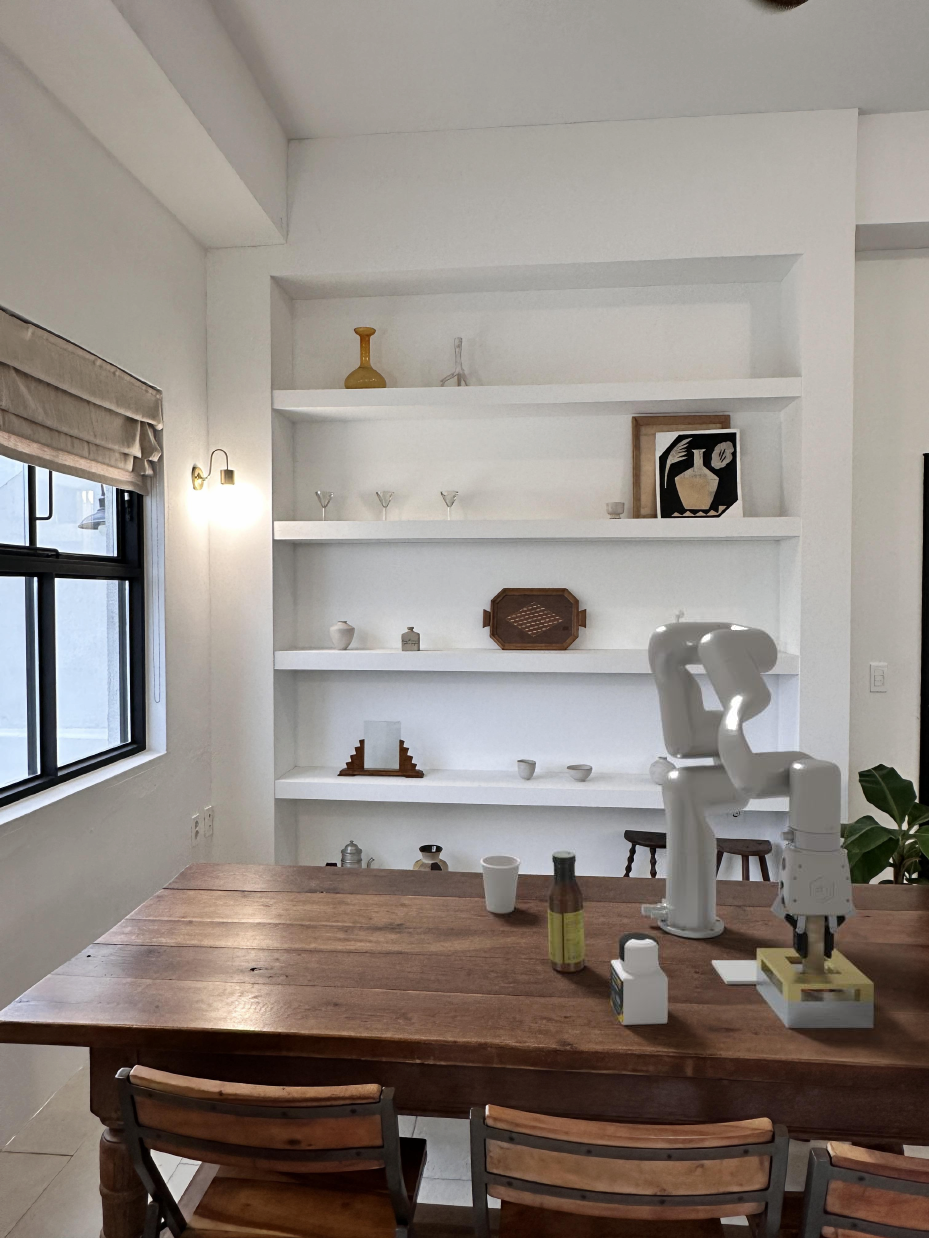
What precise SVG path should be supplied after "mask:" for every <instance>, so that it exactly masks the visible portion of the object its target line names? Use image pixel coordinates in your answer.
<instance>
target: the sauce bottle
mask: <svg viewBox="0 0 929 1238" xmlns="http://www.w3.org/2000/svg"><path fill="white" fill-rule="evenodd" d="M576 858H577V857H576V853H574V852H572V851H569V850H559V851H558V850H557V851H555V852H553V853H552V856H551V860H552V863H553V876H552V877H553V880H552V881H551V883H550V884H549V887H548V889H547V902H548V903H547V919H548V920H547V921H548V922H547V924H548V925H547V926H548V955H549V961H550V965H551V967H552V969H554V970H557V971H559V972H563V973H575V972H578V971H581V970H582V969H584V966H585V964H586V963H585V960H586V959H585V958H586V953H585V951H586V948H585V947H586V945H585V942H586V941H585V920H584V919H585V918H584V903H583V893H582V891H581V888H580V886H579V885H578V882H577V879H576V878H577V877H576V870H575V869H576V861H577V859H576Z"/></svg>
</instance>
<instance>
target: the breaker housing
mask: <svg viewBox="0 0 929 1238" xmlns="http://www.w3.org/2000/svg"><path fill="white" fill-rule="evenodd" d="M756 960H757V977H756V984H755V985H756V987H755V988H756V991H758V992H759V994H760V995H761V996H762V997H763V999H764V1000H765V1001H766V1002H767V1004H768V1005H769V1007H770V1008H771V1009H772V1010H773V1011H774V1013H775V1014H776V1015H777V1017H778V1018H779V1020H781V1022H782V1023H783V1025H784V1026H785V1027H786V1028H787V1029H793V1028H794V1029H829V1028H830V1029H838V1028H839V1029H852V1028H853V1029H857V1028H858V1029H863V1028H864V1029H871V1028H872V1029H873V1028H874V1012H875V1011H874V1010H875V1009H874V1005H875V1004H874V1001H875V1000H874V999H875V998H874V996H875V994H874V993H875V984H874V982H872V980H871V979H870V978H868V977H867V976H866V975H865V974H864V973H863V972H862V971H860V970H859V969H858V968H857V967H856V966H855V965H854V963H852V962H851V961H850V960H848V959H847V958H846V956H844V955H843V954H842V953H841V952H840V951H839V950H837V949H836V948H835V947H834V950H833V951H832V958H831V959H827V958H826V957H825V956H824V974H802V963H801V964H799V963H798V964H797V963H796V964H795V963H793V964H792V963H791V962H802V958H801V957H800V956H799V955H798V954H797V953H796V951H795V950H794V948H793V947H792V948H791V947H789V948H788V947H786V948H785V947H770V948H769V947H767V948H766V947H761V948H760V947H758V948H756ZM801 989H829V992H801Z"/></svg>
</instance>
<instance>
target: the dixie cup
mask: <svg viewBox="0 0 929 1238" xmlns="http://www.w3.org/2000/svg"><path fill="white" fill-rule="evenodd" d="M480 864H481V867H482V868H481V869H482V876H483V877H482V878H483V887H484V895H485V904H486V910H487V911H488V912H491V913H494V914H508V913H511V912H512V911H514V910H515V903H516V894H517V888H518V887H517V885H518V877H519V869H520V865H521V860H520V859H519V858H517V857H515V856H512V855H505V854H493V855H487V856H484V857H483V858H481V860H480Z"/></svg>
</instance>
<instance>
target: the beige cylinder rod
mask: <svg viewBox="0 0 929 1238" xmlns="http://www.w3.org/2000/svg"><path fill="white" fill-rule="evenodd" d="M805 932H806V933H807V935H808V957H807V958H806V959H802V961H801V962H802V963H801V964H802V974H824V938H825V916H806V920H805ZM807 990H809V991H814V992H820V991H823V990H824V989H807Z"/></svg>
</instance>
